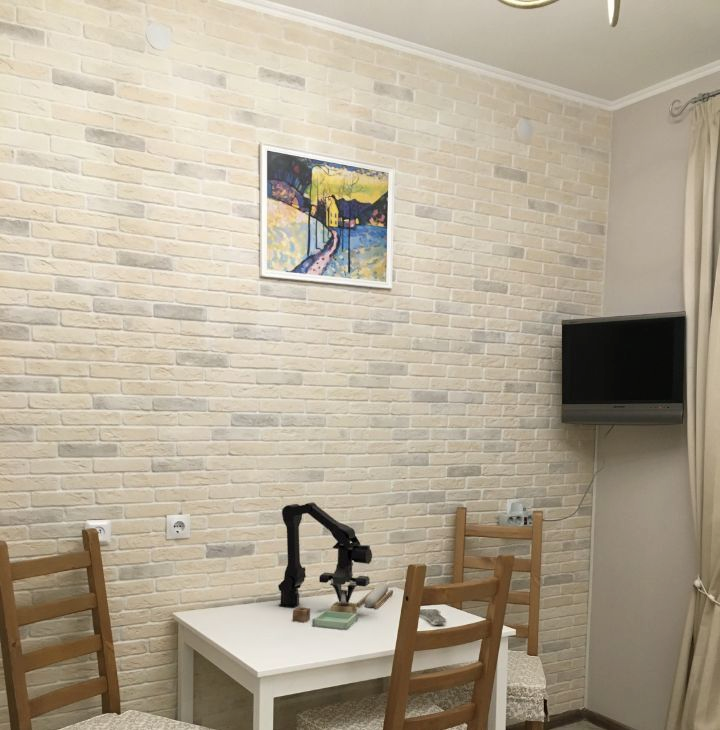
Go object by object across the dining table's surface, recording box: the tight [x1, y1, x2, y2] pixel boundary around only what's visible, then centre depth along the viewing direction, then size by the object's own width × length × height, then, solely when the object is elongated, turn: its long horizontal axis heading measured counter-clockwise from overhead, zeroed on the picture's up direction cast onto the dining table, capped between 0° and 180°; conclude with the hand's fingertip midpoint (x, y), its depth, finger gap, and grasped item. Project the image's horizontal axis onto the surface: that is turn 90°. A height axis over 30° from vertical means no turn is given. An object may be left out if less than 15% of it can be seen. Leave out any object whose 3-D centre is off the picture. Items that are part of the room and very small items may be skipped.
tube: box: [364, 581, 389, 608], centre depth 321 cm, size 5×5×25 cm
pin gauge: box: [341, 588, 348, 606], centre depth 300 cm, size 2×2×8 cm
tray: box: [311, 609, 358, 631], centre depth 286 cm, size 13×13×2 cm
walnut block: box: [292, 606, 311, 623], centre depth 290 cm, size 5×5×4 cm
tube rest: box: [356, 588, 394, 610], centre depth 321 cm, size 8×26×2 cm, turn 163°
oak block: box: [330, 600, 358, 614], centre depth 300 cm, size 8×8×4 cm
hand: (343, 602), depth 300 cm, fingers open, 3 cm apart
